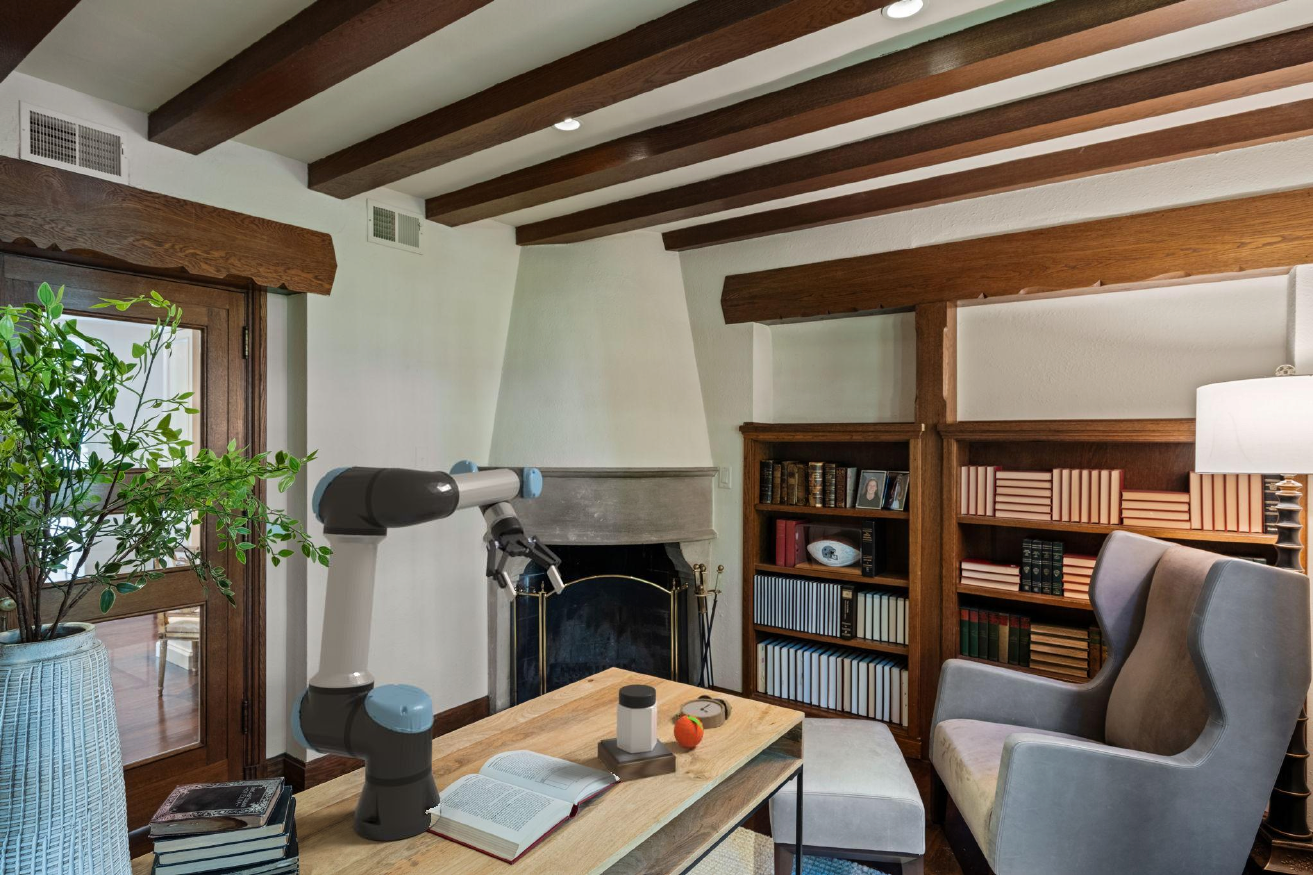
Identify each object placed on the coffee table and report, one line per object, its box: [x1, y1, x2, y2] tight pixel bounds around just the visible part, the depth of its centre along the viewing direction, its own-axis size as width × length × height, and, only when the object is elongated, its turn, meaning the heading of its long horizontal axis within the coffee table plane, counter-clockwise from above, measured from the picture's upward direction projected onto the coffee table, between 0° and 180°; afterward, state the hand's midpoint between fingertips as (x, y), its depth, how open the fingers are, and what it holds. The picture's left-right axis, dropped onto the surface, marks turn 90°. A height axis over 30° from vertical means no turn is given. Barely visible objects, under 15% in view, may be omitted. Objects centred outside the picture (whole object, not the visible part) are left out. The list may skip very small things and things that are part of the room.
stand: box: [597, 737, 677, 783], centre depth 160 cm, size 13×13×4 cm
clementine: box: [673, 715, 705, 749], centre depth 169 cm, size 8×7×7 cm
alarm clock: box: [676, 694, 733, 730], centre depth 187 cm, size 11×5×15 cm
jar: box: [616, 683, 658, 754], centre depth 160 cm, size 9×8×12 cm
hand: (537, 594), depth 175 cm, fingers open, 13 cm apart
